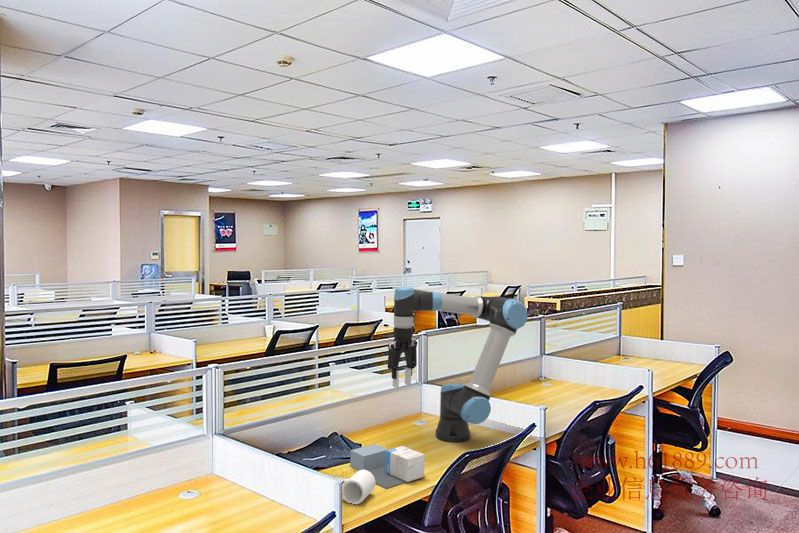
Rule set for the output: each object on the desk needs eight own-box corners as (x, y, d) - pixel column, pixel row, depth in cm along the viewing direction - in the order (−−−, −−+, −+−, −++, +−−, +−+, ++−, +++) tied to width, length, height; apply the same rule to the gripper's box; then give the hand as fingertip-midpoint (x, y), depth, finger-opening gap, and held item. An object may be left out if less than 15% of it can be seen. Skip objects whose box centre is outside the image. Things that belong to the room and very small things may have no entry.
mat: (395, 463, 236) (395, 462, 236) (424, 476, 224) (424, 475, 224) (357, 474, 224) (357, 473, 224) (386, 489, 212) (386, 487, 212)
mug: (375, 494, 207) (376, 471, 207) (364, 506, 198) (364, 482, 197) (342, 489, 211) (342, 466, 211) (329, 500, 202) (330, 476, 201)
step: (375, 459, 240) (375, 443, 240) (388, 465, 234) (389, 449, 234) (350, 466, 232) (350, 450, 232) (363, 472, 226) (363, 456, 226)
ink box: (384, 472, 225) (410, 484, 215) (385, 450, 225) (410, 460, 215) (402, 467, 231) (427, 478, 221) (402, 445, 231) (428, 455, 221)
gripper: (414, 323, 251) (412, 380, 252) (378, 327, 239) (377, 387, 240) (427, 326, 245) (425, 384, 246) (391, 329, 233) (389, 391, 234)
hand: (401, 385), depth 243 cm, fingers open, 6 cm apart
